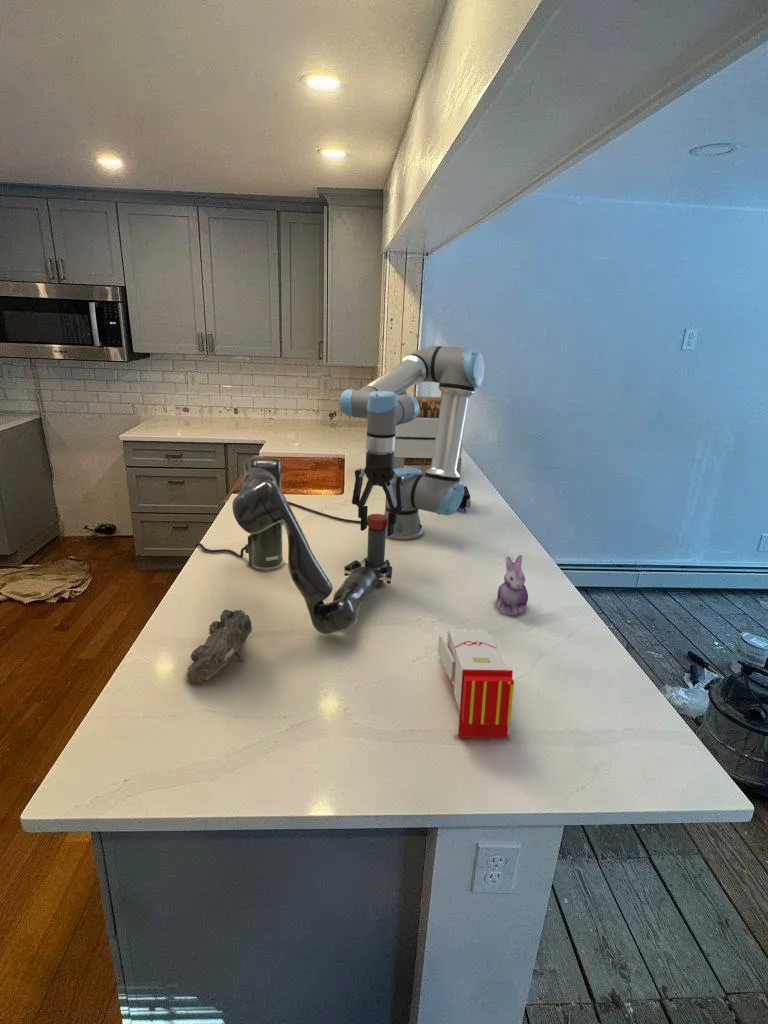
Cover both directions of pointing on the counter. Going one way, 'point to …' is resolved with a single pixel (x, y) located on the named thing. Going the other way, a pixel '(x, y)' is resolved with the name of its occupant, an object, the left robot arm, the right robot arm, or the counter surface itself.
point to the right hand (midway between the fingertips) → (376, 531)
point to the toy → (478, 682)
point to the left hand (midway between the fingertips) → (378, 561)
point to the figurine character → (465, 500)
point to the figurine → (512, 589)
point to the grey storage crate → (419, 436)
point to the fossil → (219, 645)
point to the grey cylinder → (376, 549)
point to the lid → (377, 521)
